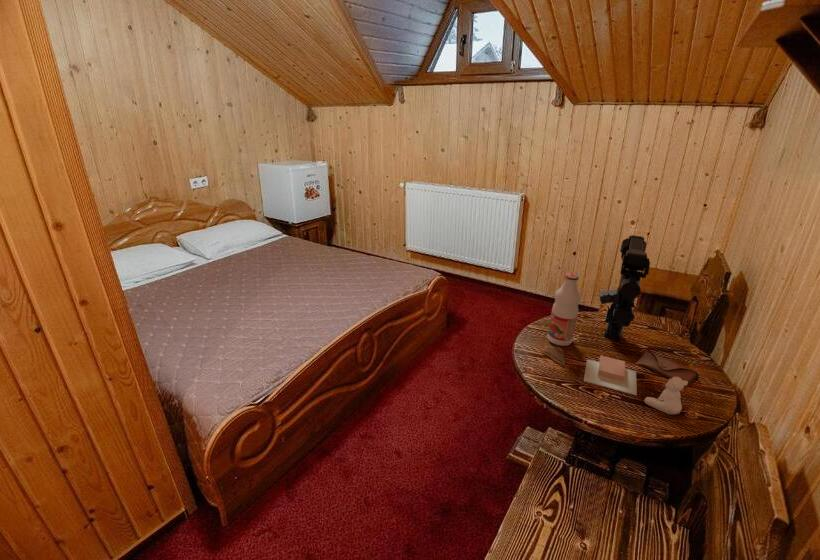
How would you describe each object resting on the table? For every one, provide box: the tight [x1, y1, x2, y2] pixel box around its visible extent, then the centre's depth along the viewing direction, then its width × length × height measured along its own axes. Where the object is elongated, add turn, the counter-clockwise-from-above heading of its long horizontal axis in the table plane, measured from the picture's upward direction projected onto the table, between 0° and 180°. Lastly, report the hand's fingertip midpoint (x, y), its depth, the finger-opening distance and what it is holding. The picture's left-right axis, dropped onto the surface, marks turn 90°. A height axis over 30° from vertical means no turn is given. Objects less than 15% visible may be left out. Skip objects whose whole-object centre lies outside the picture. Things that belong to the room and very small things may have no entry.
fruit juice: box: [547, 272, 582, 347], centre depth 155 cm, size 9×9×28 cm
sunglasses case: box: [635, 349, 699, 389], centre depth 142 cm, size 18×7×7 cm
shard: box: [542, 345, 566, 367], centre depth 149 cm, size 11×8×2 cm
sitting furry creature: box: [644, 377, 688, 416], centre depth 122 cm, size 10×9×12 cm
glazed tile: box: [597, 354, 626, 383], centre depth 140 cm, size 2×8×10 cm
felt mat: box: [583, 358, 638, 397], centre depth 139 cm, size 14×16×1 cm
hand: (618, 326), depth 147 cm, fingers closed
